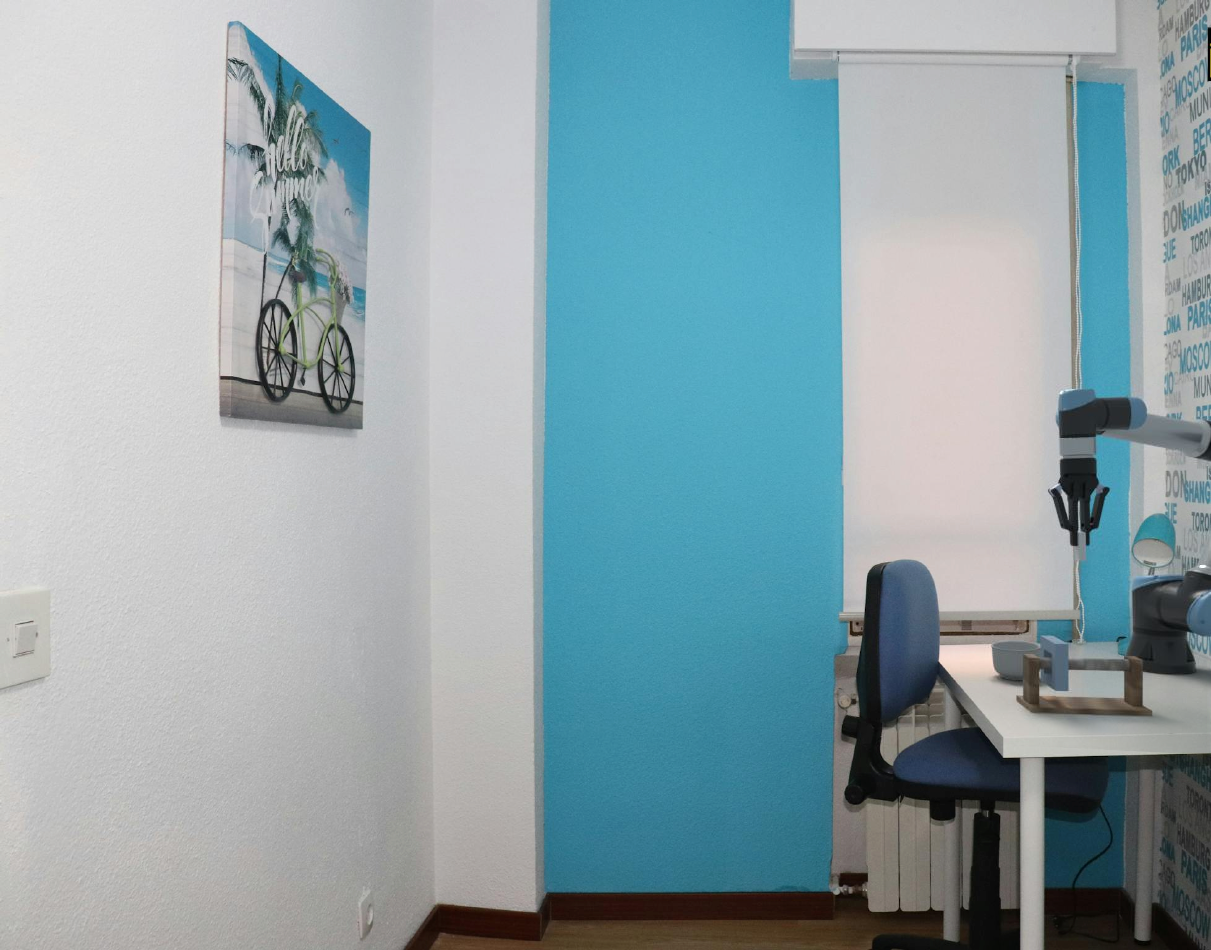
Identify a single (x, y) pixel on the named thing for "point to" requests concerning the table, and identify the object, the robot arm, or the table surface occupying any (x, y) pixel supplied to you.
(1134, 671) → the wooden rod stand
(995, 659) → the teacup
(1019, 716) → the table surface
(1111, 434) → the robot arm
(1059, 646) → the ring
